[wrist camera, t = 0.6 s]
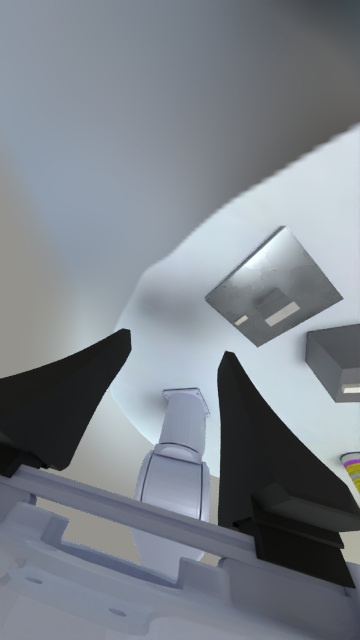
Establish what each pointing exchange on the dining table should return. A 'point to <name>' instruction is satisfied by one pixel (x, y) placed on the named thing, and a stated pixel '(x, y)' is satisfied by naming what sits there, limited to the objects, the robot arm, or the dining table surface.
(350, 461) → the supplement bottle
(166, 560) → the robot arm
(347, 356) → the grey cube with tab
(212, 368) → the dining table surface
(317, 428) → the dining table surface
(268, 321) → the plate
